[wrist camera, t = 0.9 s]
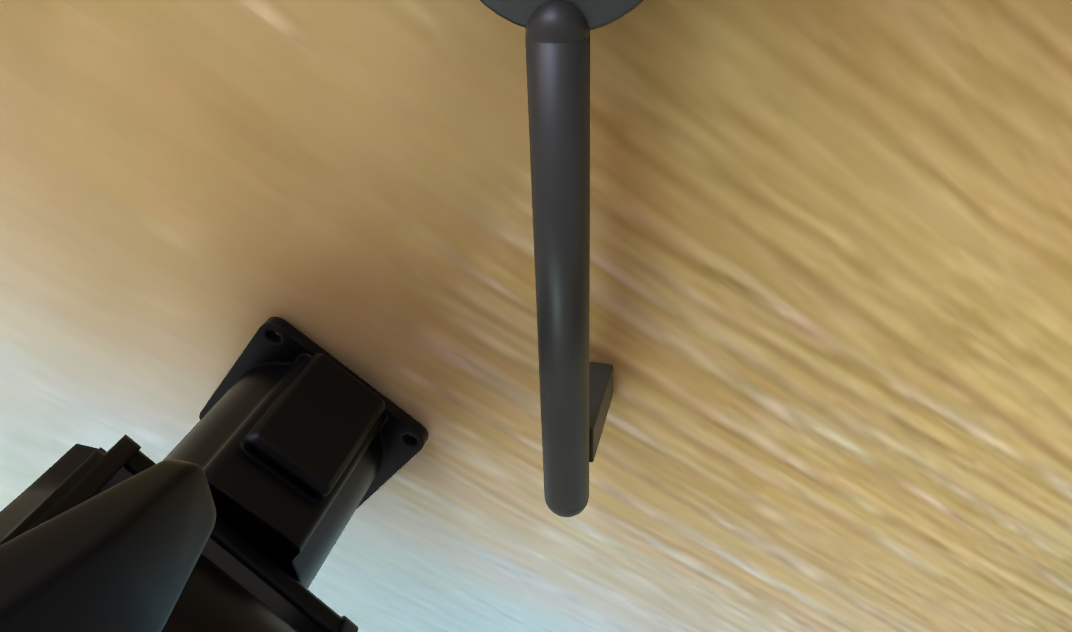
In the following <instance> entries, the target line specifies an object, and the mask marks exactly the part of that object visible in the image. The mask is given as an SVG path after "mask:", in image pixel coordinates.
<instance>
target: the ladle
mask: <svg viewBox="0 0 1072 632" xmlns="http://www.w3.org/2000/svg"><path fill="white" fill-rule="evenodd" d="M480 1H481V2H482V3H483V4H484V5H485V6H487V7H488V8H490V9H491V10H492V11H494V12H495V13H496V14H498V15H499V16H501V17H503V18H505V19H507V20H508V21H510V22H512V23H514V24H517V25H519V26H522V27H525V28H526V35H525V40H526V64H527V87H528V111H529V135H530V159H531V183H532V207H533V231H534V255H535V279H536V303H537V327H538V351H539V375H540V399H541V423H542V447H543V471H544V494H545V501H546V503H547V505H548V507H549V508H550V509H551V511H552V512H554V513H555V514H557V515H559V516H562V517H572V516H575V515H577V514H579V513H580V512H581V511H582V510H583V509H584V508H585V507H586V505H587V502H588V498H589V462H593V461H594V457H595V454H596V450H597V447H598V444H599V440H600V437H601V433H602V430H603V427H604V423H605V420H606V416H607V413H608V409H609V406H610V403H611V399H612V390H613V365H608V364H601V363H593V362H589V267H590V30H593V29H596V28H599V27H602V26H605V25H607V24H609V23H611V22H613V21H615V20H617V19H619V18H621V17H623V16H624V15H626V14H627V13H629V12H630V11H632V10H633V9H634V8H636V7H637V6H638V5H639V4H640V3H641V2H642V1H644V0H480Z"/></svg>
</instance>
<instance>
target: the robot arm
mask: <svg viewBox="0 0 1072 632" xmlns="http://www.w3.org/2000/svg"><path fill="white" fill-rule="evenodd" d="M274 331H275V332H277V333H278V334H279V335H277V334H276V333H275V332H274ZM199 417H200V421H199V422H198V423H197V425H196V426H195V427H194V428H193V429H192V430H191V431H190V432H189V433H188V434H187V435H186V436H185V437H184V438H183V439H182V441H181V442H180V443H179V444H178V445H177V446H176V447H175V448H174V449H173V450H172V451H171V452H170V453H169V454H168V456H167V457H166V458H165V459H164V460H163V461H162V462H159V463H157V464H155V463H154V462H153V461H152V460H150V459H149V458H148V457H147V456H146V455H144V454H143V453H142V452H141V451H140V450H139V449H140V448H141V447H140V446H139V445H138V444H137V443H135V442H134V441H133V440H132V439H131V438H129V437H128V436H127V435H125V436H124V437H122V438H121V439H120V440H119V441H118V442H117V443H116V444H115V445H114V446H113V447H112V448H111V449H110V450H108V451H107V452H106V451H105V450H104V449H102V448H101V447H100V448H99V449H97V448H93V447H89V446H84V445H80V444H76V445H74V446H73V447H72V448H71V449H70V450H69V451H68V452H67V453H66V454H65V455H64V456H62V457H61V458H60V459H59V460H58V461H57V462H56V463H55V464H54V465H53V466H52V467H50V468H49V469H48V470H47V471H46V472H45V473H44V474H43V475H42V476H41V477H39V478H38V479H37V480H36V481H35V482H34V483H33V484H32V485H31V486H29V487H28V488H27V489H26V490H25V491H24V492H23V493H22V494H20V495H19V496H18V497H17V498H16V499H15V500H14V501H12V502H11V503H10V504H9V505H8V506H7V507H5V508H4V509H3V510H2V511H1V512H0V632H357V631H358V626H356V625H355V624H354V623H353V622H352V621H350V620H349V619H348V618H347V617H346V616H342V617H340V616H339V615H338V614H337V613H336V612H334V611H333V610H332V609H331V608H330V607H328V606H327V605H326V604H325V603H323V602H322V601H321V600H320V599H319V598H317V597H316V596H315V595H314V594H313V593H311V592H310V591H309V590H308V588H309V586H310V584H311V583H312V581H313V579H314V578H315V576H316V574H317V573H318V571H319V569H320V568H321V566H322V564H323V563H324V561H325V559H326V558H327V556H328V554H329V553H330V551H331V549H332V548H333V546H334V545H335V543H336V541H337V540H338V538H339V536H340V535H341V533H342V531H343V530H344V528H345V526H346V525H347V523H348V521H349V520H350V518H351V516H352V515H353V513H354V511H355V510H356V509H357V508H358V507H359V506H360V505H361V504H362V503H363V502H364V501H365V500H367V499H368V498H369V497H370V496H371V495H372V494H373V493H374V492H375V491H376V490H377V489H379V488H380V487H381V486H382V485H383V484H384V483H385V482H386V481H387V480H388V479H389V478H390V477H392V476H393V475H394V474H395V473H396V472H397V471H398V470H399V469H400V468H401V467H402V466H403V465H405V464H406V463H407V462H408V461H409V460H410V459H411V458H412V457H413V456H414V455H415V454H417V453H418V452H419V451H420V450H421V449H422V447H423V446H424V444H425V442H426V440H427V438H428V432H427V430H426V428H425V427H424V426H423V425H422V424H420V423H419V422H418V421H416V420H415V419H414V418H412V417H411V416H410V415H409V414H407V413H406V412H405V411H403V410H402V409H401V408H399V407H398V406H397V405H395V404H394V403H393V402H391V401H390V400H389V399H388V398H386V397H385V396H384V395H382V394H381V393H380V392H378V391H377V390H376V389H374V388H373V387H372V386H370V385H369V384H368V383H367V382H365V381H364V380H363V379H361V378H360V377H359V376H357V375H356V374H355V373H353V372H352V371H351V370H349V369H348V368H347V367H346V366H344V365H343V364H342V363H340V362H339V361H338V360H336V359H335V358H334V357H332V356H331V355H330V354H329V353H327V352H326V351H325V350H323V349H322V348H321V347H319V346H318V345H317V344H315V343H314V342H313V341H311V340H310V339H309V338H308V337H306V336H305V335H304V334H302V333H301V332H300V331H298V330H297V329H296V328H294V327H293V326H292V325H290V324H289V323H288V322H287V321H285V320H283V319H281V318H278V317H272V318H269V319H268V320H267V321H266V322H265V323H264V324H263V325H262V326H261V327H260V328H259V330H258V331H257V333H256V334H255V336H254V337H253V338H252V340H251V341H250V343H249V344H248V346H247V347H246V348H245V350H244V351H243V353H242V354H241V356H240V357H239V358H238V360H237V361H236V363H235V364H234V366H233V367H232V368H231V370H230V371H229V373H228V374H227V376H226V377H225V378H224V380H223V381H222V383H221V384H220V386H219V387H218V388H217V390H216V391H215V393H214V394H213V396H212V397H211V398H210V400H209V401H208V403H207V404H206V406H205V407H204V408H203V410H202V411H201V413H200V416H199ZM409 434H410V435H412V436H414V437H415V438H414V437H412V436H410V435H409Z"/></svg>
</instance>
